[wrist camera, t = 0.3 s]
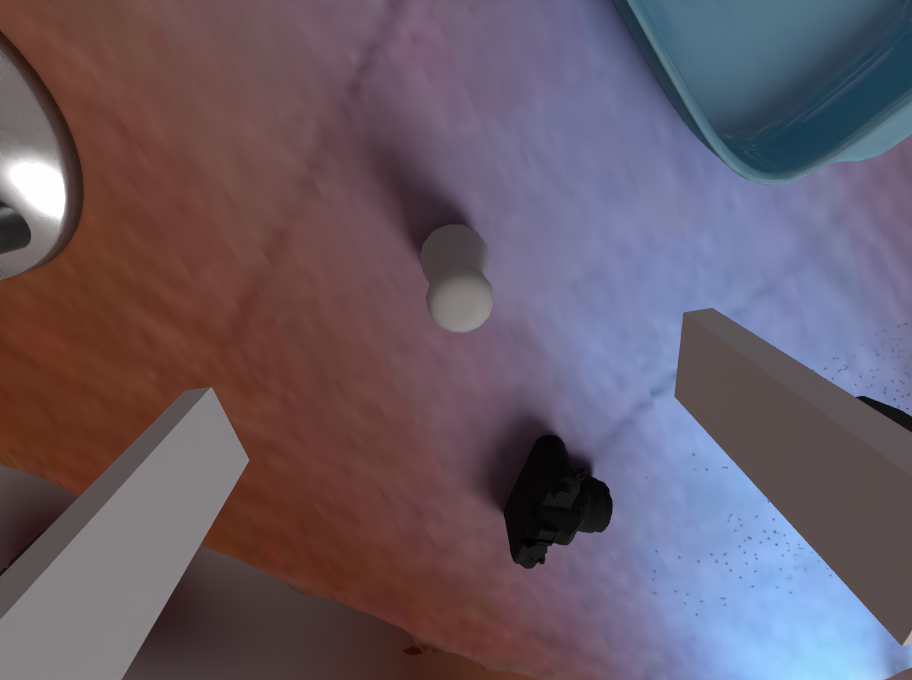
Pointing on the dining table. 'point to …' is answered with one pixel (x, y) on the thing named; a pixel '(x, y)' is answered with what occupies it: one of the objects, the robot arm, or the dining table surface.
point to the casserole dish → (782, 77)
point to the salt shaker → (457, 278)
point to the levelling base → (34, 169)
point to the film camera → (553, 503)
